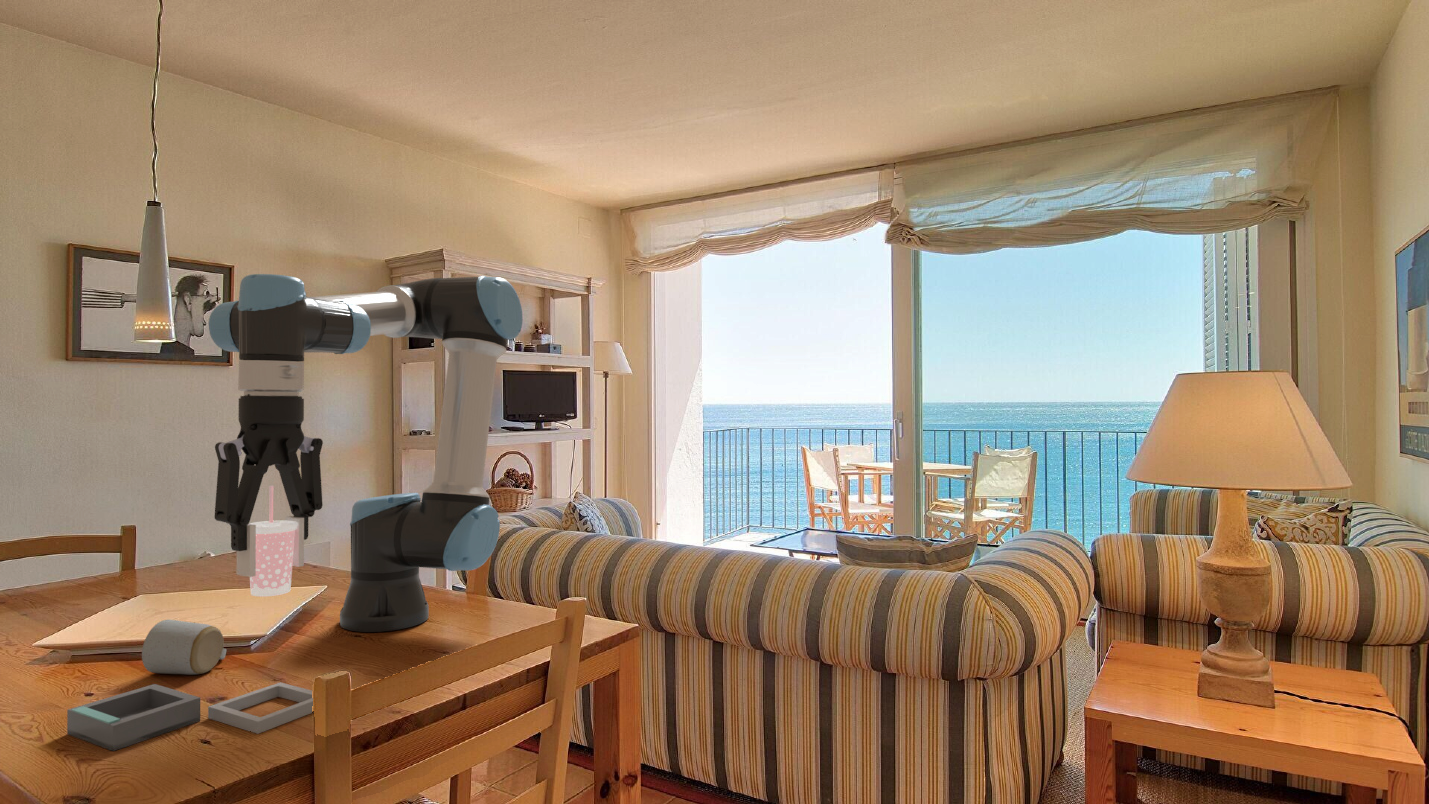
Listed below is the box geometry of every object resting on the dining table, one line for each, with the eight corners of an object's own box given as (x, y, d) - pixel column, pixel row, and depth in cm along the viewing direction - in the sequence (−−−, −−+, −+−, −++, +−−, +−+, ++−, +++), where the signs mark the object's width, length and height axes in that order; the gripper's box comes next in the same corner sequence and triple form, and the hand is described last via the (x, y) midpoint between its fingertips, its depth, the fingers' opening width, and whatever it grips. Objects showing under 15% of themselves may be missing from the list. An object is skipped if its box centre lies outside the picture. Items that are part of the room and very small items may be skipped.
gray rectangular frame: (280, 692, 113) (280, 682, 113) (328, 706, 109) (328, 695, 109) (208, 718, 104) (208, 706, 104) (257, 733, 100) (257, 721, 100)
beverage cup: (246, 588, 108) (247, 483, 108) (298, 584, 110) (299, 482, 110) (241, 599, 102) (241, 489, 102) (295, 595, 105) (296, 487, 105)
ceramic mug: (193, 682, 117) (194, 628, 117) (139, 680, 118) (140, 627, 118) (241, 659, 128) (242, 610, 128) (191, 657, 128) (192, 608, 128)
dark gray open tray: (154, 706, 108) (154, 682, 108) (200, 720, 103) (200, 695, 103) (67, 734, 99) (67, 708, 99) (113, 751, 95) (113, 724, 94)
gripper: (216, 394, 96) (216, 589, 96) (353, 394, 113) (352, 560, 113) (178, 393, 99) (178, 581, 100) (317, 393, 116) (316, 554, 117)
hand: (271, 569), depth 106 cm, fingers closed on beverage cup, 6 cm apart
